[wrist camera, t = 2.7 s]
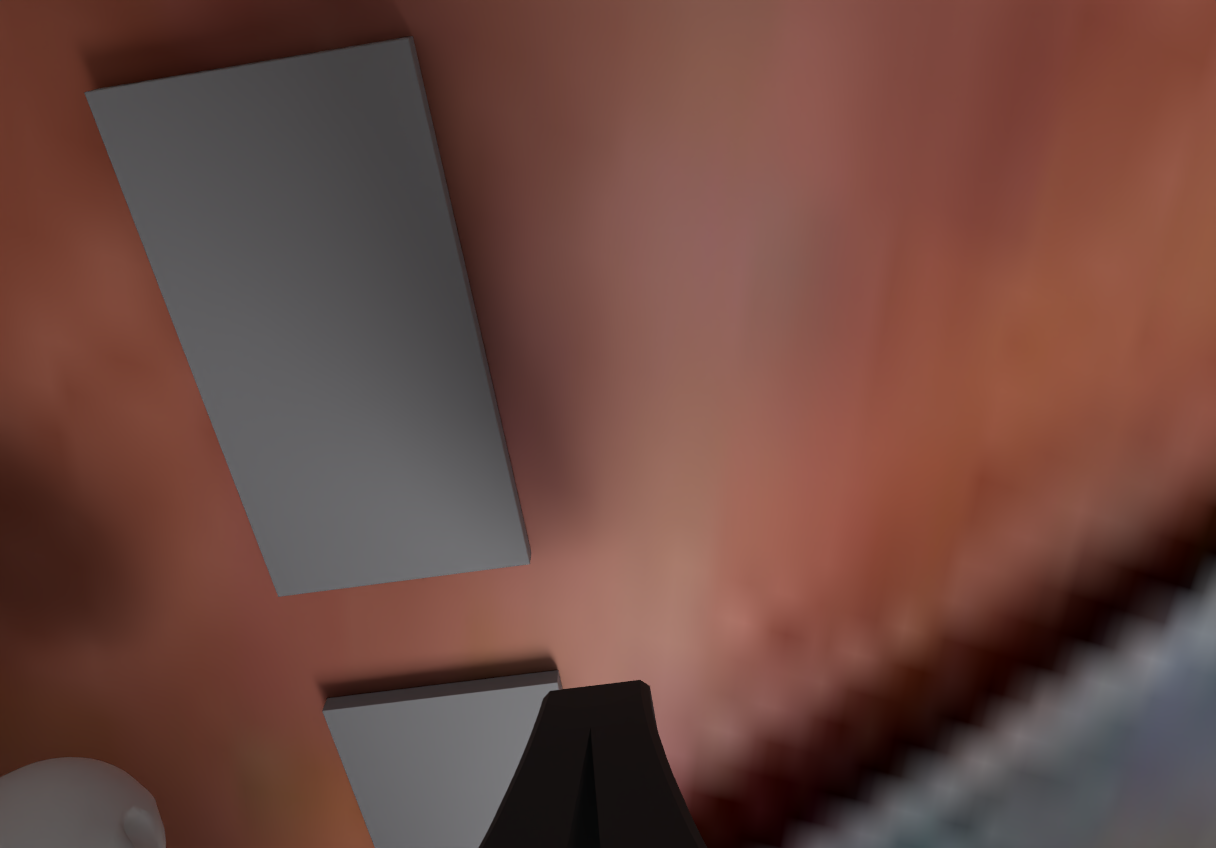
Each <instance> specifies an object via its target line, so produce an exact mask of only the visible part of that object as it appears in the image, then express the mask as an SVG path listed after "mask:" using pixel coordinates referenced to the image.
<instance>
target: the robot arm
mask: <svg viewBox="0 0 1216 848" xmlns="http://www.w3.org/2000/svg"><path fill="white" fill-rule="evenodd" d="M479 848H707V847H706V845H705V843H704V841H703V839H702V837H701V835H700V833H699V831H698V829H697V827H696V825H695V823H694V821H693V819H692V817H691V814H690V812H689V810H688V808H687V806H686V803H685V801H684V799H683V796H682V794H681V792H680V789H679V787H678V785H677V783H676V780H675V778H674V776H673V773H672V771H671V768H670V765H669V763H668V760H667V758H666V755H665V752H664V749H663V746H662V743H661V740H660V737H659V734H658V730H657V725H656V719H655V714H654V708H653V702H652V696H651V691H650V686H649V685H647V684H646V683H644V682H643V681H641V680H636V681H628V682H619V683H611V684H603V685H595V686H586V687H578V688H570V689H561V690H553V691H549V693H548V694H547V695H546V696H545V697H544V698H543V700H542V703H541V707H540V710H539V713H538V716H537V719H536V721H535V724H534V727H533V730H532V732H531V735H530V737H529V740H528V743H527V745H526V748H525V750H524V752H523V755H522V757H521V759H520V762H519V764H518V767H517V769H516V771H515V774H514V776H513V778H512V780H511V782H510V785H509V787H508V789H507V791H506V793H505V795H504V797H503V800H502V802H501V804H500V806H499V808H498V810H497V812H496V814H495V817H494V819H493V821H492V823H491V825H490V827H489V829H488V831H487V833H486V835H485V837H484V838H483V840H482V842H481V844H480V846H479Z"/></svg>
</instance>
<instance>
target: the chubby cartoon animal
mask: <svg viewBox="0 0 1216 848" xmlns="http://www.w3.org/2000/svg"><path fill="white" fill-rule="evenodd" d="M0 848H166V838H165V830H164V826H163V823H162V820H161V817H160V814H159V811H158V808H157V804H156V801H155V798H154V797H153V795H152V794H151V793H150V792H149V791H148V790H147V789H146V788H145V787H143V786H142V785H141V784H140V783H139V782H138V781H137V780H135V779H134V778H133V777H132V776H131V775H129V774H128V773H127V772H125V771H124V770H122V769H120V768H118V767H116V766H114V765H111V764H109V763H106V762H103V761H100V760H96V759H91V758H83V757H62V758H53V759H48V760H43V761H39V762H35V763H32V764H29V765H26V766H24V767H21V768H19V769H17V770H15V771H12V772H10V773H8V774H6V775H4V776H2V777H0Z"/></svg>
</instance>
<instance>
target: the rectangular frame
mask: <svg viewBox="0 0 1216 848" xmlns="http://www.w3.org/2000/svg"><path fill="white" fill-rule="evenodd" d="M84 93H85V95H86V98H87V101H88V103H89V106H90V108H91V111H92V114H93V116H94V119H95V121H96V124H97V127H98V129H99V132H100V134H101V137H102V140H103V142H104V145H105V147H106V150H107V153H108V155H109V158H110V160H111V163H112V166H113V168H114V171H115V173H116V176H117V179H118V181H119V184H120V186H121V189H122V192H123V194H124V197H125V199H126V202H127V205H128V207H129V210H130V212H131V215H132V218H133V220H134V223H135V225H136V228H137V231H138V233H139V236H140V238H141V241H142V244H143V246H144V249H145V251H146V254H147V257H148V259H149V262H150V264H151V267H152V270H153V272H154V275H155V277H156V280H157V283H158V285H159V288H160V290H161V293H162V296H163V298H164V301H165V303H166V306H167V309H168V311H169V314H170V316H171V319H172V322H173V324H174V327H175V329H176V332H177V335H178V337H179V340H180V342H181V345H182V348H183V350H184V353H185V355H186V358H187V361H188V363H189V366H190V368H191V371H192V374H193V376H194V379H195V381H196V384H197V387H198V389H199V392H200V394H201V397H202V399H203V402H204V405H205V407H206V410H207V412H208V415H209V418H210V420H211V423H212V425H213V428H214V431H215V433H216V436H217V438H218V441H219V444H220V446H221V449H222V451H223V454H224V457H225V459H226V462H227V464H228V467H229V470H230V472H231V475H232V477H233V480H234V483H235V485H236V488H237V490H238V493H239V496H240V498H241V501H242V503H243V506H244V509H245V511H246V514H247V516H248V519H249V522H250V524H251V527H252V529H253V532H254V535H255V537H256V540H257V542H258V545H259V548H260V550H261V553H262V555H263V558H264V561H265V563H266V566H267V568H268V571H269V574H270V576H271V579H272V581H273V584H274V587H275V589H276V592H277V594H278V597H280V596H288V595H295V594H303V593H311V592H318V591H326V590H334V589H342V588H349V587H357V586H365V585H372V584H380V583H388V582H396V581H403V580H411V579H419V578H426V577H434V576H442V575H450V574H457V573H465V572H473V571H480V570H488V569H496V568H504V567H511V566H519V565H527V564H530V559H531V550H530V546H529V541H528V537H527V533H526V528H525V524H524V519H523V515H522V511H521V506H520V502H519V498H518V493H517V489H516V485H515V480H514V476H513V471H512V467H511V463H510V458H509V454H508V450H507V445H506V441H505V437H504V432H503V428H502V423H501V419H500V415H499V410H498V406H497V402H496V397H495V393H494V389H493V384H492V380H491V375H490V371H489V367H488V362H487V358H486V354H485V349H484V345H483V341H482V336H481V332H480V328H479V323H478V319H477V314H476V310H475V306H474V301H473V297H472V293H471V288H470V284H469V280H468V275H467V271H466V266H465V262H464V258H463V253H462V249H461V245H460V240H459V236H458V232H457V227H456V223H455V218H454V214H453V210H452V205H451V201H450V197H449V192H448V188H447V184H446V179H445V175H444V170H443V166H442V162H441V157H440V153H439V149H438V144H437V140H436V136H435V131H434V127H433V123H432V118H431V114H430V109H429V105H428V101H427V96H426V92H425V88H424V83H423V79H422V75H421V70H420V66H419V61H418V57H417V53H416V48H415V44H414V40H413V36H409V37H403V38H397V39H392V40H386V41H380V42H374V43H368V44H362V45H356V46H350V47H344V48H338V49H332V50H326V51H320V52H314V53H308V54H302V55H296V56H290V57H284V58H278V59H272V60H266V61H260V62H254V63H249V64H243V65H237V66H231V67H225V68H219V69H213V70H207V71H201V72H195V73H189V74H183V75H177V76H171V77H165V78H159V79H153V80H147V81H141V82H135V83H129V84H123V85H117V86H111V87H106V88H100V89H95V90H91V91H88V92H84ZM561 689H562V685H561V681H560V676H559V672H558V670H555V671H547V672H539V673H530V674H522V675H514V676H506V677H498V678H490V679H481V680H473V681H465V682H457V683H449V684H440V685H432V686H424V687H416V688H408V689H399V690H391V691H383V692H375V693H367V694H358V695H350V696H342V697H334V698H327V700H326V702H325V705H324V708H323V714H324V717H325V719H326V722H327V724H328V727H329V730H330V732H331V735H332V737H333V740H334V743H335V745H336V748H337V750H338V753H339V756H340V758H341V761H342V763H343V766H344V769H345V771H346V774H347V776H348V779H349V782H350V784H351V787H352V789H353V792H354V795H355V797H356V800H357V802H358V805H359V808H360V810H361V813H362V815H363V818H364V821H365V823H366V826H367V828H368V831H369V834H370V836H371V839H372V841H373V844H374V847H375V848H479V846H480V844H481V842H482V840H483V838H484V837H485V835H486V833H487V831H488V829H489V827H490V825H491V823H492V821H493V819H494V817H495V814H496V812H497V810H498V808H499V806H500V804H501V802H502V800H503V797H504V795H505V793H506V791H507V789H508V787H509V785H510V782H511V780H512V778H513V776H514V774H515V771H516V769H517V767H518V764H519V762H520V759H521V757H522V755H523V752H524V750H525V748H526V745H527V743H528V740H529V737H530V735H531V732H532V730H533V727H534V724H535V721H536V719H537V716H538V713H539V710H540V707H541V703H542V700H543V698H544V697H545V696H546V695H547V694H548V693H549V691H553V690H561Z"/></svg>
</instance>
